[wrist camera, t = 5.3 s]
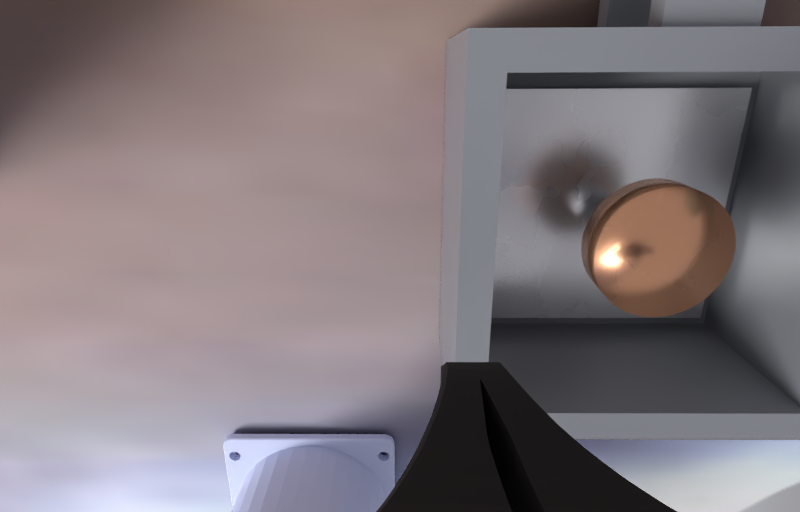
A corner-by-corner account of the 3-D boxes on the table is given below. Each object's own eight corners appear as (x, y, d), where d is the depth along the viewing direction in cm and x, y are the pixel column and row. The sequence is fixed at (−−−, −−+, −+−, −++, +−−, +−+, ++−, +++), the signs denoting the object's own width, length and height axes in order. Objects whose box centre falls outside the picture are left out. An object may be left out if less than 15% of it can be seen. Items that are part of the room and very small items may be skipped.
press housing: (714, 337, 22) (831, 439, 16) (439, 337, 22) (452, 439, 16) (807, -53, 17) (1031, -118, 11) (448, -50, 17) (473, -113, 11)
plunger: (692, 311, 21) (778, 384, 16) (479, 311, 21) (501, 384, 16) (741, 87, 18) (866, 95, 13) (491, 88, 18) (524, 96, 13)
